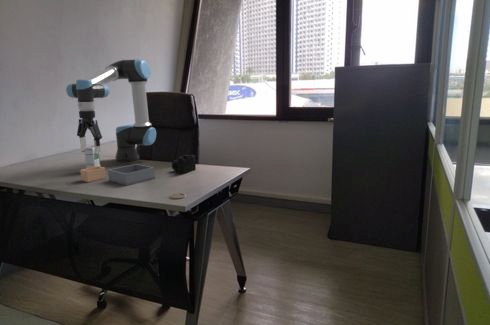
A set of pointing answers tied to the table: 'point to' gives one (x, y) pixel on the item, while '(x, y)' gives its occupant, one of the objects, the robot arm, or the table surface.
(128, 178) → the large crate
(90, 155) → the syrup box
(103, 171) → the small crate
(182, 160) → the camera
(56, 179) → the table surface
